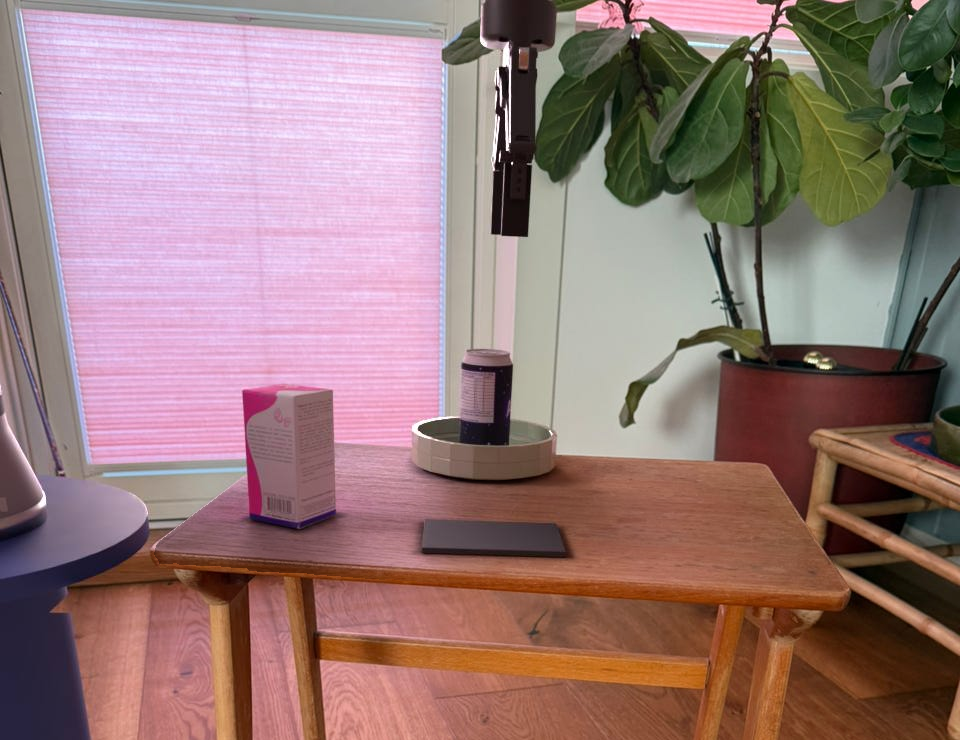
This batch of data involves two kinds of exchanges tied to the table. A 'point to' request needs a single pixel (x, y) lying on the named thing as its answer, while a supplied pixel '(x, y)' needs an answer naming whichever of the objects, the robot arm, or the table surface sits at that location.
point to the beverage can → (485, 397)
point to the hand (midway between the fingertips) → (507, 236)
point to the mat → (492, 538)
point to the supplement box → (290, 454)
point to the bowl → (483, 451)
